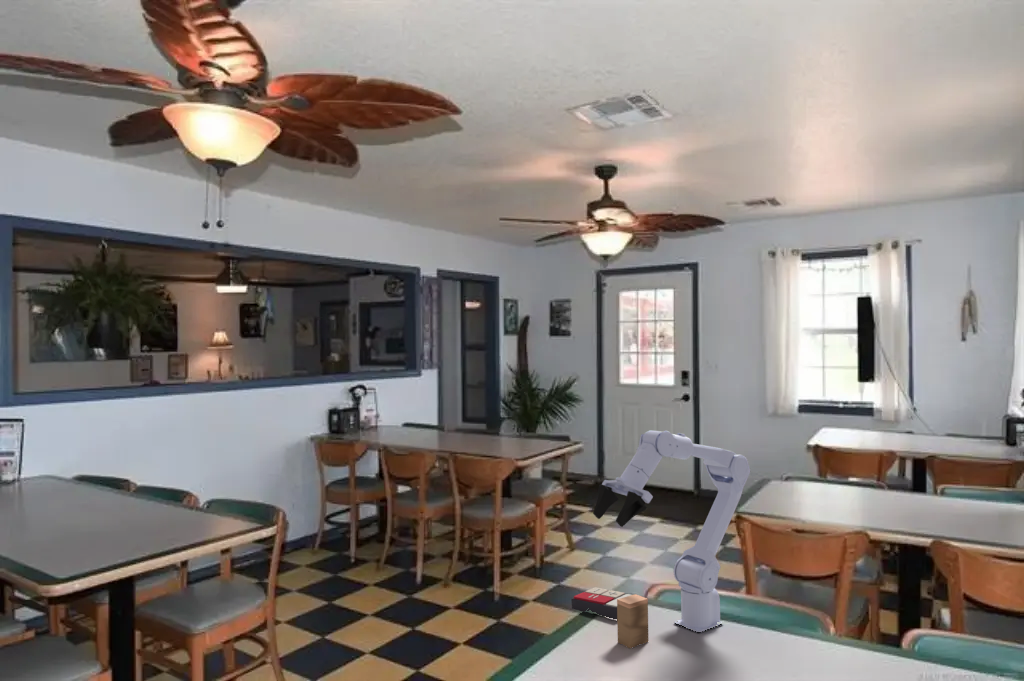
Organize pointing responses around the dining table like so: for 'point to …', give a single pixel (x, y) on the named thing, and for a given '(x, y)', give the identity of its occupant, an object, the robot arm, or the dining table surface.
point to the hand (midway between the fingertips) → (607, 520)
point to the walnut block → (632, 620)
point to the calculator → (598, 601)
